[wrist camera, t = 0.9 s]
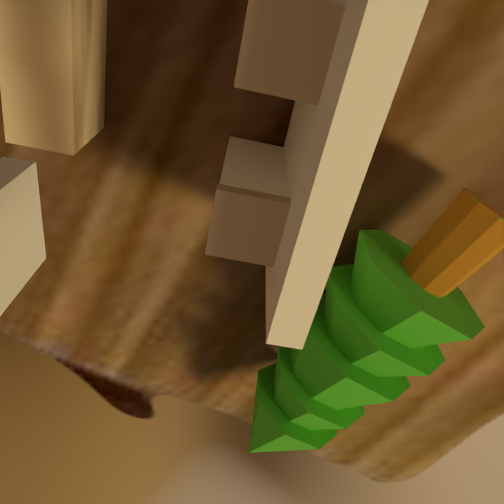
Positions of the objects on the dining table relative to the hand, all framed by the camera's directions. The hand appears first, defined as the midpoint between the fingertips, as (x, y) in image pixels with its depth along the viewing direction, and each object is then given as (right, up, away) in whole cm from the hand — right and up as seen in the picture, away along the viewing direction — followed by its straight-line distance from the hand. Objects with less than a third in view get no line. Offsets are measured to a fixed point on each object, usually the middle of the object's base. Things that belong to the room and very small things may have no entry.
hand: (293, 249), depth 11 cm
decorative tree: (+6, -5, +28) cm, 30 cm away
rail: (-12, +16, +16) cm, 26 cm away
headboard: (+1, +11, +19) cm, 22 cm away
